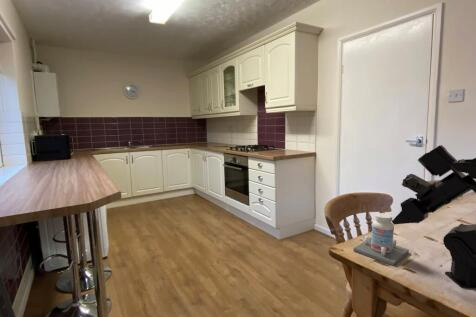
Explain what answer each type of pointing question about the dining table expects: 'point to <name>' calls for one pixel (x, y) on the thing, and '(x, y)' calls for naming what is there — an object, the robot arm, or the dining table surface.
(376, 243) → the pill bottle
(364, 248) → the pin tray
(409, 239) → the dining table surface
